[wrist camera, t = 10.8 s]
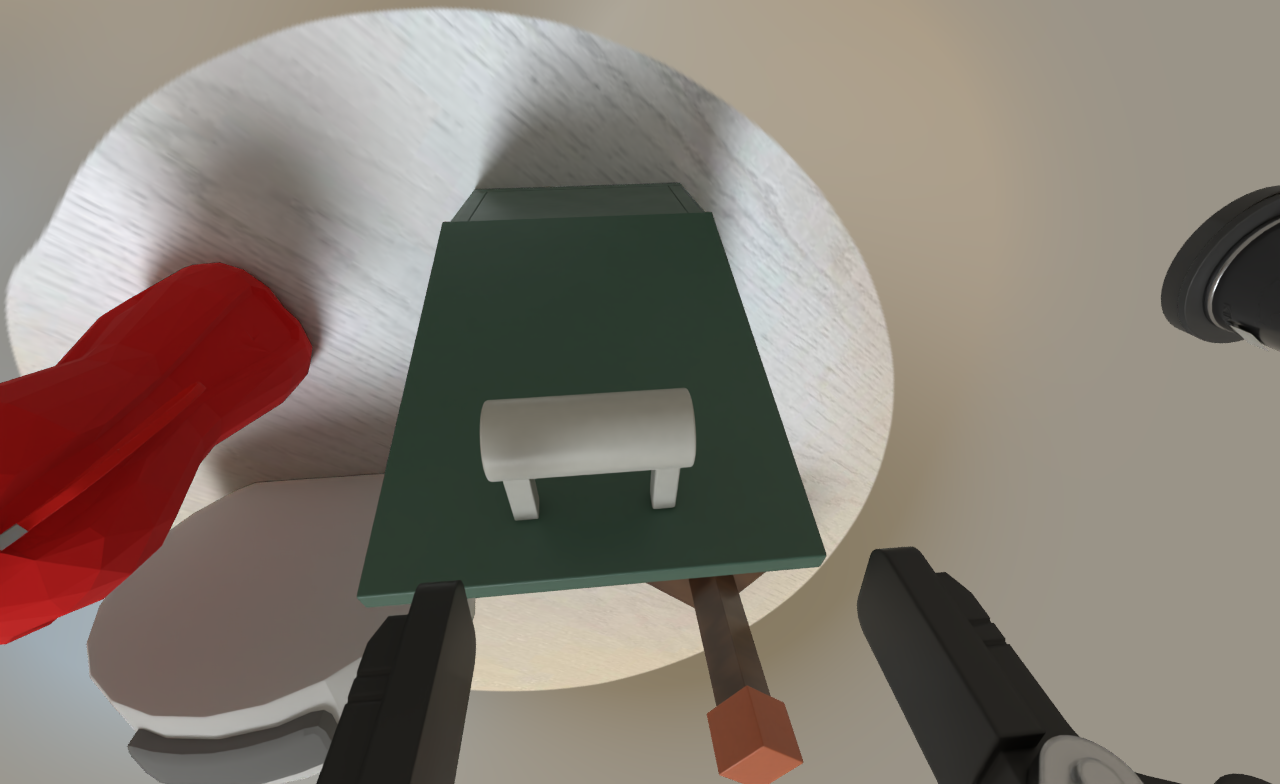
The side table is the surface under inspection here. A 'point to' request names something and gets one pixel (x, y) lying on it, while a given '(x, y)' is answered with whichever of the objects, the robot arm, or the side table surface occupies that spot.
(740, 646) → the stand
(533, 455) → the bin lid
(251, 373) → the water bottle
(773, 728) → the block
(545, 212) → the bin
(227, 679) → the alarm clock
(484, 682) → the side table surface
